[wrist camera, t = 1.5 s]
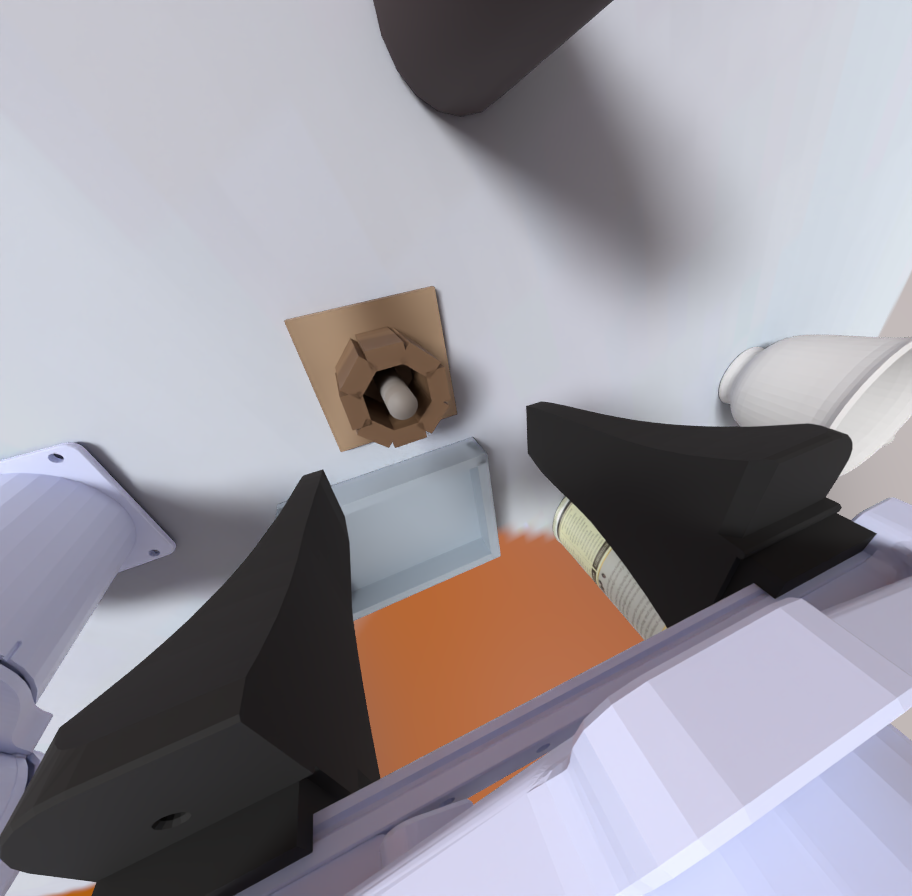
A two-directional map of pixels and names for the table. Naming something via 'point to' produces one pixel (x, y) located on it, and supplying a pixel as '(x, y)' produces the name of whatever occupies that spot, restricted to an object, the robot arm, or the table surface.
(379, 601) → the tray
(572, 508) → the coffee can
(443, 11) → the vinegar
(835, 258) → the table surface
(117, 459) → the table surface
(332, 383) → the post stand
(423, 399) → the collar
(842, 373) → the teacup
